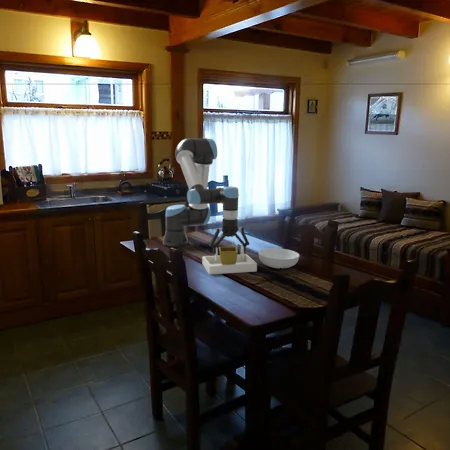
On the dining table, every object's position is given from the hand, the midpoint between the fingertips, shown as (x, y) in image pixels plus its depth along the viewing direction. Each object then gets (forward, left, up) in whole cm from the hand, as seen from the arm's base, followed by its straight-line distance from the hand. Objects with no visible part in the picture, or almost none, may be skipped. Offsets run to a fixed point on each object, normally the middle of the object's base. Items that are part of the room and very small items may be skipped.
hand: (229, 259), depth 216 cm
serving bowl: (+2, +26, -5) cm, 26 cm away
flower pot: (0, -1, -4) cm, 4 cm away
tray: (0, 0, -4) cm, 4 cm away
